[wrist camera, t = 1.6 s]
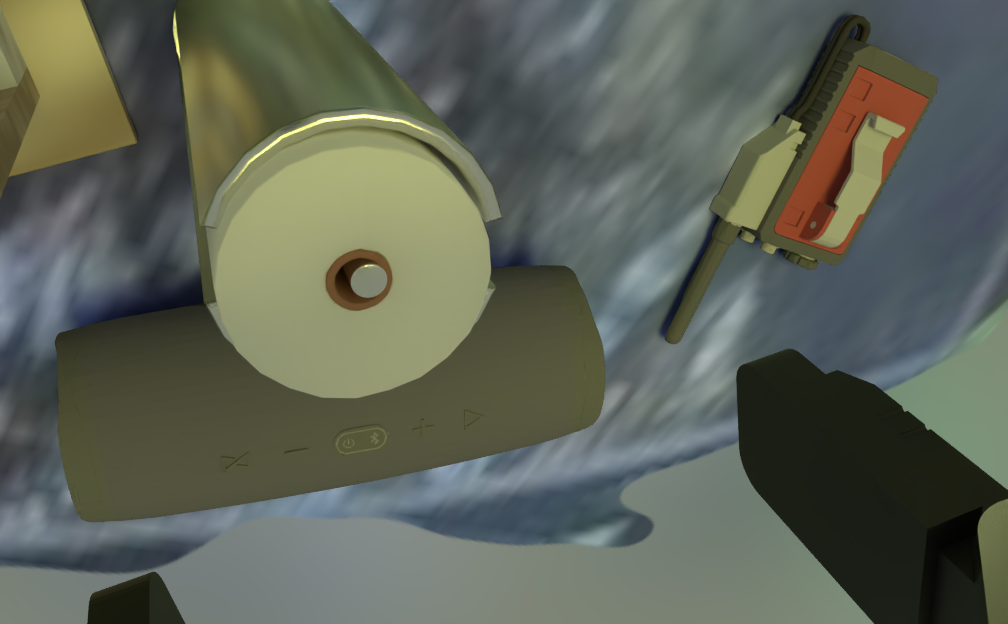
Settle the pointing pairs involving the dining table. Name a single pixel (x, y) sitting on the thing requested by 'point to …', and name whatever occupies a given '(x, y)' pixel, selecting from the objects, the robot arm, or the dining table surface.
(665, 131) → the dining table surface
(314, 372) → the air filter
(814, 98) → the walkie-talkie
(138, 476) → the bluetooth speaker
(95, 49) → the collar stand
